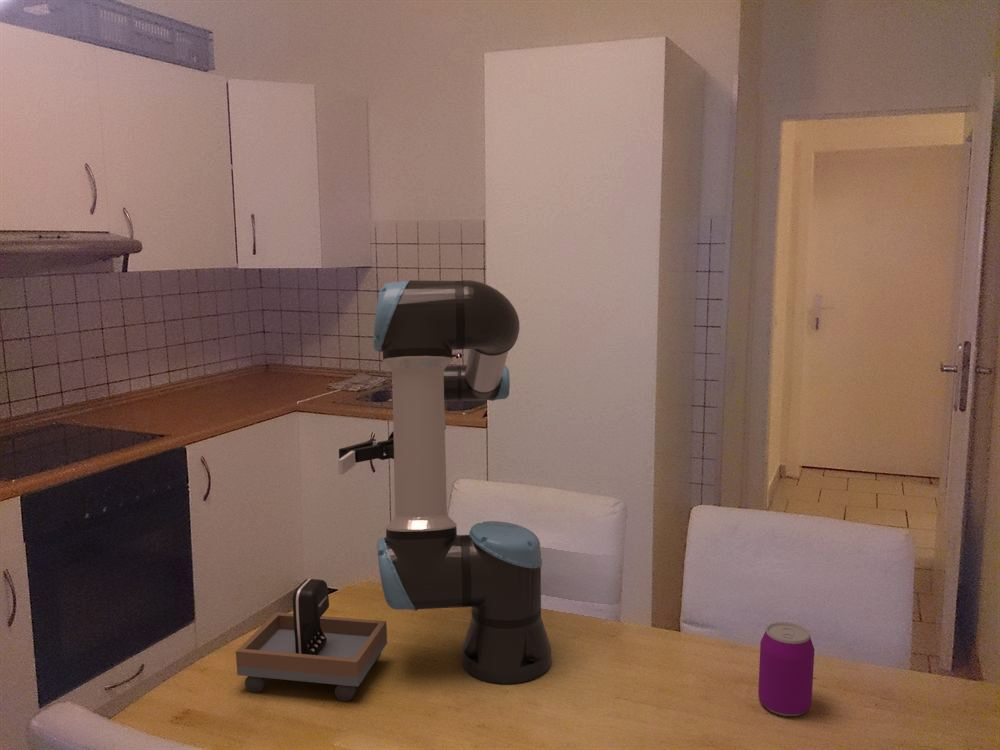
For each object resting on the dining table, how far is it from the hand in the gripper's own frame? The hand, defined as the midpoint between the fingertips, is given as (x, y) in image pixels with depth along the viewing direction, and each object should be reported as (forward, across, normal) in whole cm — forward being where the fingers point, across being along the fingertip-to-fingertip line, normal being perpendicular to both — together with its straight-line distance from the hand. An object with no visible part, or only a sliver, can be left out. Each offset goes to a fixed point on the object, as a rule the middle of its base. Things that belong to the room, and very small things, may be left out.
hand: (376, 468), depth 149 cm
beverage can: (+15, -69, -30) cm, 77 cm away
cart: (+19, +5, -30) cm, 36 cm away
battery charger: (+19, +5, -26) cm, 32 cm away
